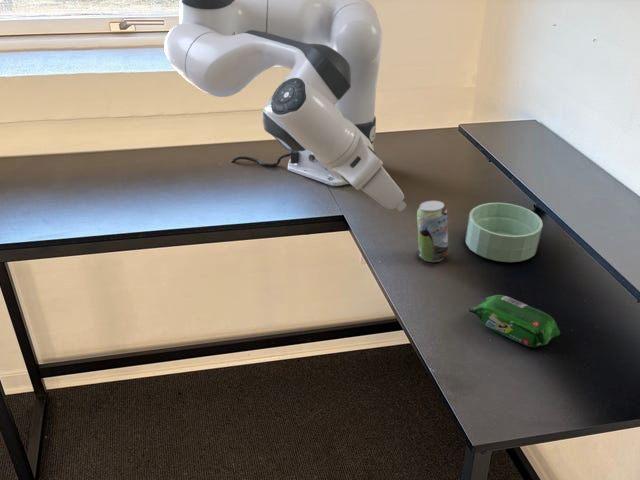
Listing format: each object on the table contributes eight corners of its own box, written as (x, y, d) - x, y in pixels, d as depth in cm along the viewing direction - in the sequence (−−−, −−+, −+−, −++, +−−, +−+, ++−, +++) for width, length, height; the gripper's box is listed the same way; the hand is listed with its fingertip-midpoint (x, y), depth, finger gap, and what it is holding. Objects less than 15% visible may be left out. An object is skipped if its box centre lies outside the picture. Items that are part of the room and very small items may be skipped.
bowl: (456, 253, 153) (460, 225, 149) (476, 223, 164) (481, 196, 160) (527, 271, 149) (533, 243, 145) (542, 239, 160) (549, 212, 156)
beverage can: (445, 267, 148) (453, 214, 141) (410, 262, 149) (416, 209, 142) (448, 252, 153) (456, 200, 146) (414, 247, 154) (420, 195, 147)
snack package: (484, 307, 138) (488, 283, 135) (560, 340, 131) (566, 316, 127) (464, 323, 133) (468, 300, 130) (542, 358, 126) (548, 334, 123)
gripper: (313, 144, 137) (358, 186, 147) (356, 190, 123) (403, 233, 132) (336, 118, 136) (380, 162, 145) (382, 161, 121) (427, 207, 131)
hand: (391, 196), depth 139 cm, fingers open, 8 cm apart
